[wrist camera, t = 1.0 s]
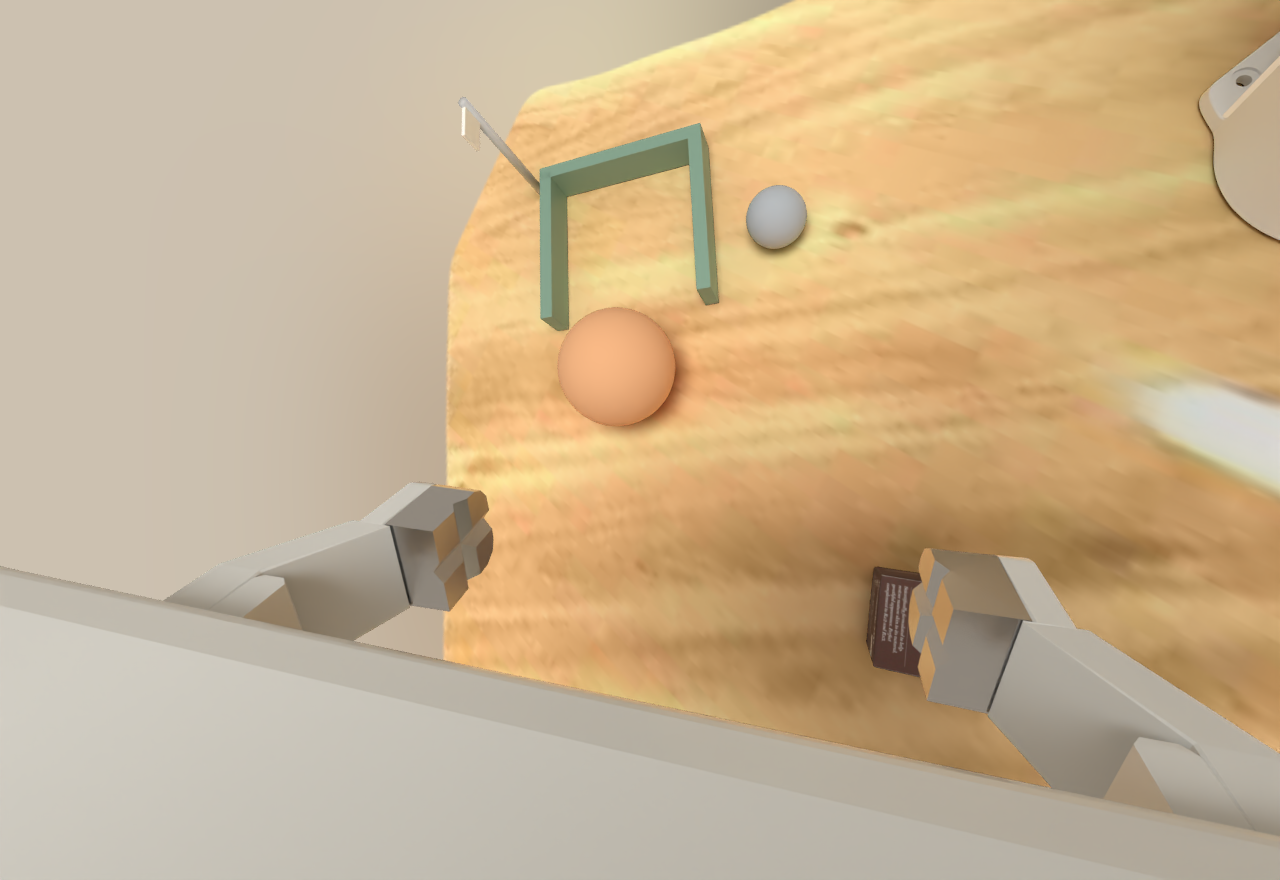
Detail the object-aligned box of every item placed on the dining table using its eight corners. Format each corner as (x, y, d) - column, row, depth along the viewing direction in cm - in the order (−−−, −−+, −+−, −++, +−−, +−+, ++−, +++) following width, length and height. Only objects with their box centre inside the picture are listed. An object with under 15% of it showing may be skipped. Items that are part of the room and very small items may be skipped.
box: (873, 564, 42) (880, 571, 35) (962, 579, 40) (987, 590, 33) (865, 645, 42) (870, 667, 35) (954, 664, 39) (979, 692, 33)
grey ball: (775, 196, 49) (769, 162, 45) (820, 223, 48) (818, 190, 43) (739, 240, 50) (729, 211, 45) (782, 269, 48) (776, 241, 43)
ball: (634, 311, 52) (590, 264, 43) (710, 372, 49) (681, 335, 40) (569, 391, 54) (512, 362, 44) (639, 456, 50) (594, 440, 41)
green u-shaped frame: (718, 302, 50) (676, 222, 37) (544, 333, 56) (454, 274, 42) (708, 148, 52) (666, 22, 39) (543, 192, 58) (458, 96, 45)
